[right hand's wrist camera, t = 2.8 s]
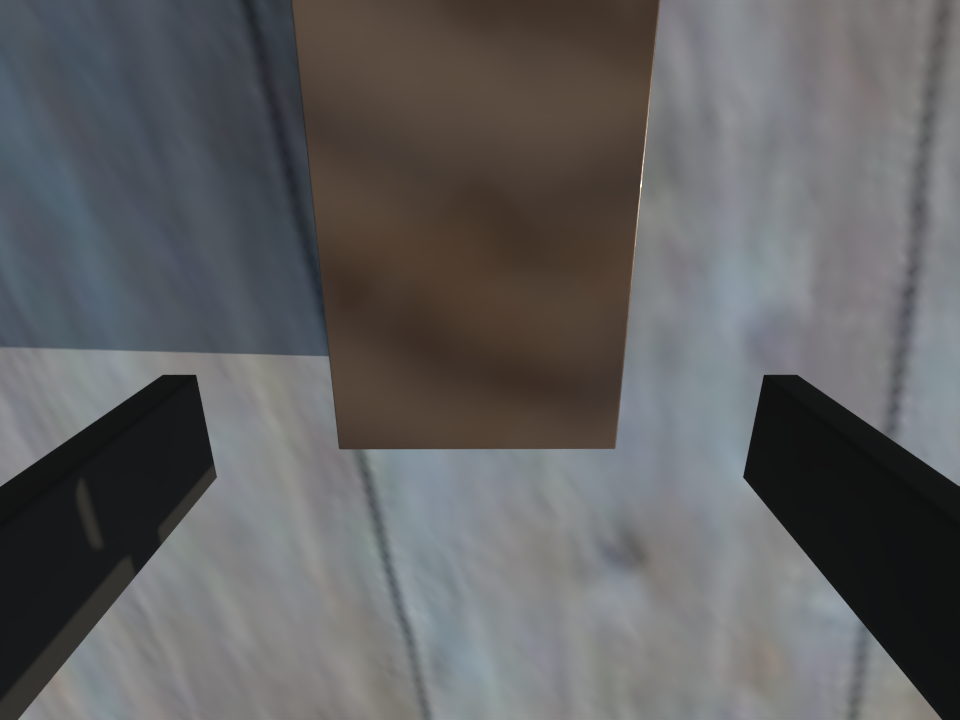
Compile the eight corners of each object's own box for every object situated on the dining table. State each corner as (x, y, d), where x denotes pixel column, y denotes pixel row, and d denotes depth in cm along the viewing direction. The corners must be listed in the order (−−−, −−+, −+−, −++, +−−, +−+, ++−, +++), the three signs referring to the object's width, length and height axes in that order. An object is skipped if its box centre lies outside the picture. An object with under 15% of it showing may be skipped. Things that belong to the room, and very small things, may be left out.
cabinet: (350, -105, 24) (258, -291, 14) (602, -105, 24) (689, -292, 14) (383, 358, 31) (338, 449, 22) (573, 358, 31) (616, 449, 22)
